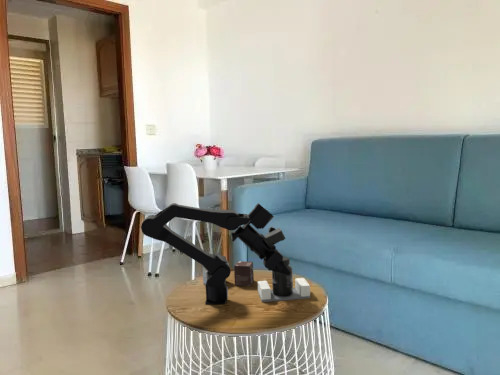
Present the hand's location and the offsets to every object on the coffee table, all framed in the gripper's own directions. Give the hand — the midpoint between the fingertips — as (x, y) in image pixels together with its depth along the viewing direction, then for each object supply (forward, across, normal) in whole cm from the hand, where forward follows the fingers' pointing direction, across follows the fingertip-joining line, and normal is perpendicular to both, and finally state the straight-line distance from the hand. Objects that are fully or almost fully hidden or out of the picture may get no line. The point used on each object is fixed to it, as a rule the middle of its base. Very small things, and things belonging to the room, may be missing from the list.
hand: (286, 270), depth 139 cm
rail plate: (+5, 0, +7) cm, 9 cm away
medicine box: (-10, +18, +23) cm, 31 cm away
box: (-3, +15, +15) cm, 22 cm away
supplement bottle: (+5, 0, +7) cm, 8 cm away
